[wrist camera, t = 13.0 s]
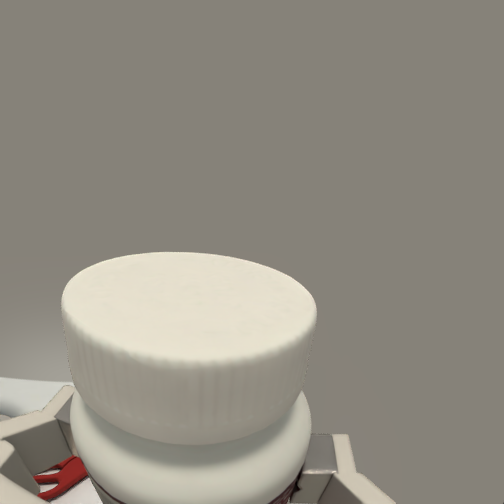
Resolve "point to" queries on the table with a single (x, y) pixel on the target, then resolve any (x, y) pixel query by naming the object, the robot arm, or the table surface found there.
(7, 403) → the table surface
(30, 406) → the table surface
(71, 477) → the scissors
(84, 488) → the table surface
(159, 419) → the pill bottle
